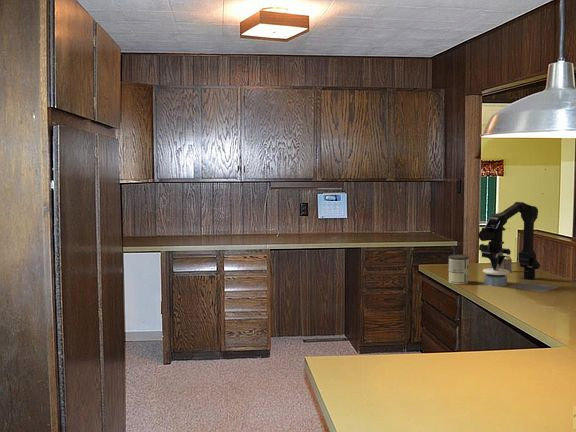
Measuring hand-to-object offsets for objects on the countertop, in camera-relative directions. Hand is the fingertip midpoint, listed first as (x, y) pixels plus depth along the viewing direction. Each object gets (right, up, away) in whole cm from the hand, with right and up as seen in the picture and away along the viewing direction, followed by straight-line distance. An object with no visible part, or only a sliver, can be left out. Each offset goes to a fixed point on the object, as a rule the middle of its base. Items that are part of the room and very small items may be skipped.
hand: (495, 269), depth 306 cm
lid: (0, -2, 0) cm, 2 cm away
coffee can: (-17, -8, +8) cm, 21 cm away
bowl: (0, -8, +1) cm, 8 cm away
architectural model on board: (+16, -5, +36) cm, 40 cm away
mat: (+16, -9, -7) cm, 20 cm away
